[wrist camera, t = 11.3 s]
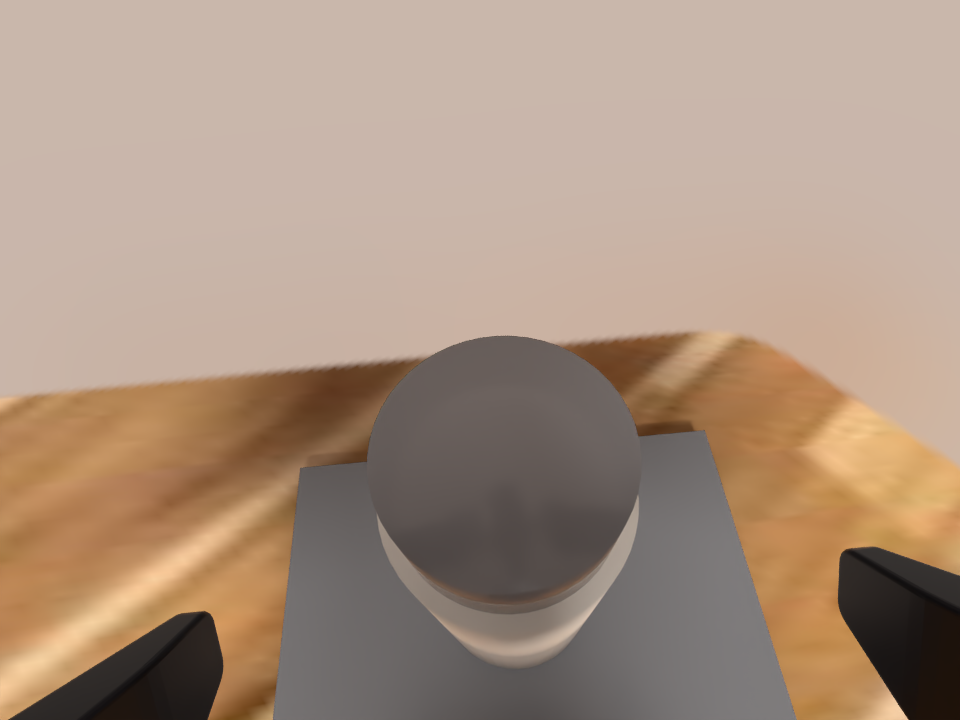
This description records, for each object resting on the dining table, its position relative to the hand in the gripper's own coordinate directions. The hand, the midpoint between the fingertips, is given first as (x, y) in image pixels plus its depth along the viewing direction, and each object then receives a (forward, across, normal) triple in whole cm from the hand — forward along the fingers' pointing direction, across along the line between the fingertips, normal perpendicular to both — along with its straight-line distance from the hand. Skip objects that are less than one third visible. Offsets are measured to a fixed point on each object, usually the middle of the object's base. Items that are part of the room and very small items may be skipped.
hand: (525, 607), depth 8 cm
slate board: (+11, 0, +7) cm, 13 cm away
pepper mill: (+10, 0, +7) cm, 12 cm away
